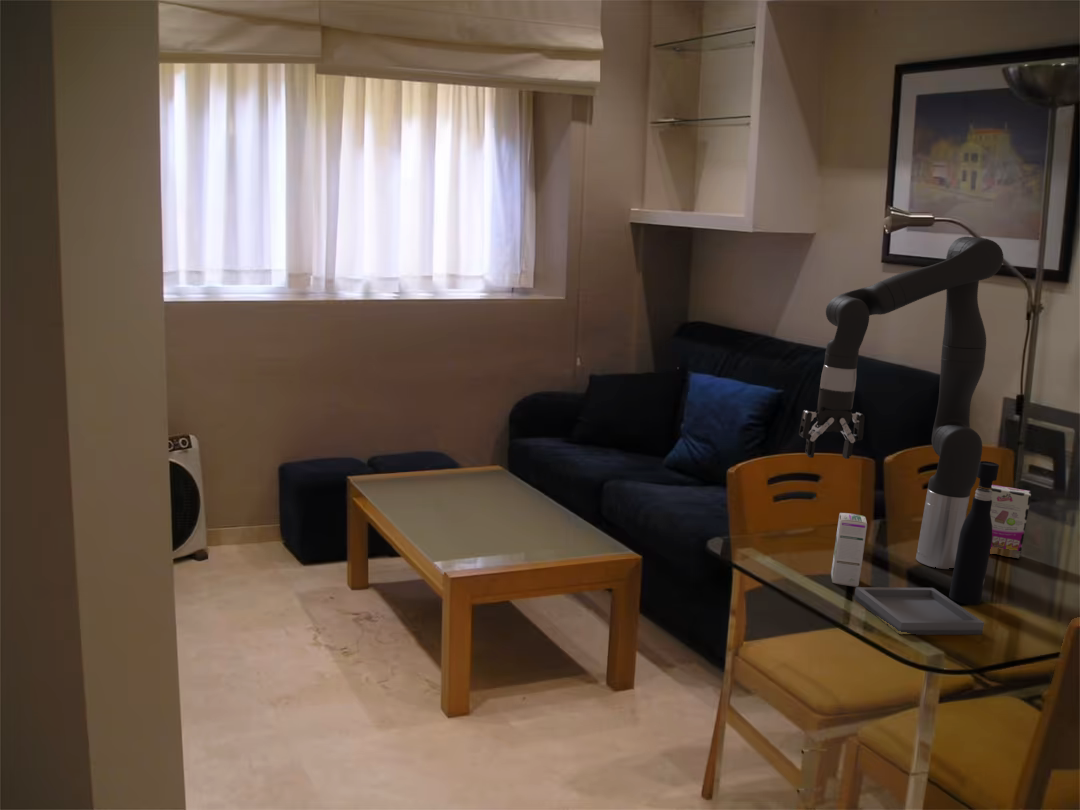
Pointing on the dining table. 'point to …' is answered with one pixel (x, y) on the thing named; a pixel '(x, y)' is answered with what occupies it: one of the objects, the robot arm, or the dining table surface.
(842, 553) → the syrup box
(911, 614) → the tray
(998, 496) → the candy bar box
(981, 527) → the dark water bottle
